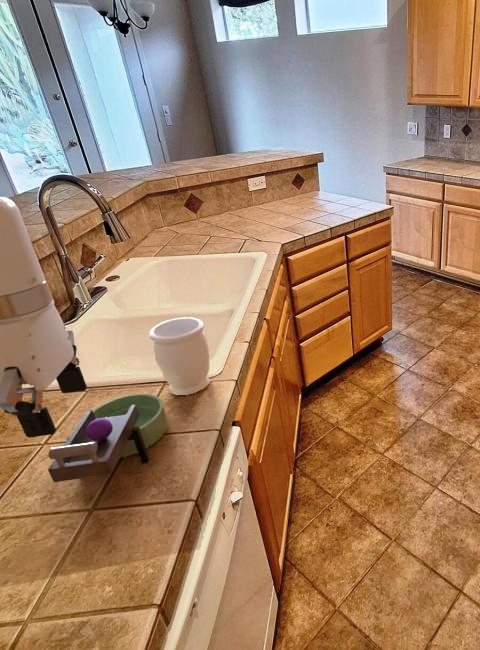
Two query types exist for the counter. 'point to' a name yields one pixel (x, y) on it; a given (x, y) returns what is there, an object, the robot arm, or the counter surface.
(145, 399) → the bowl
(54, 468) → the scoop
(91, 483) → the counter surface
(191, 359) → the jar
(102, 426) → the ball
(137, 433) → the bracket
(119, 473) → the counter surface
